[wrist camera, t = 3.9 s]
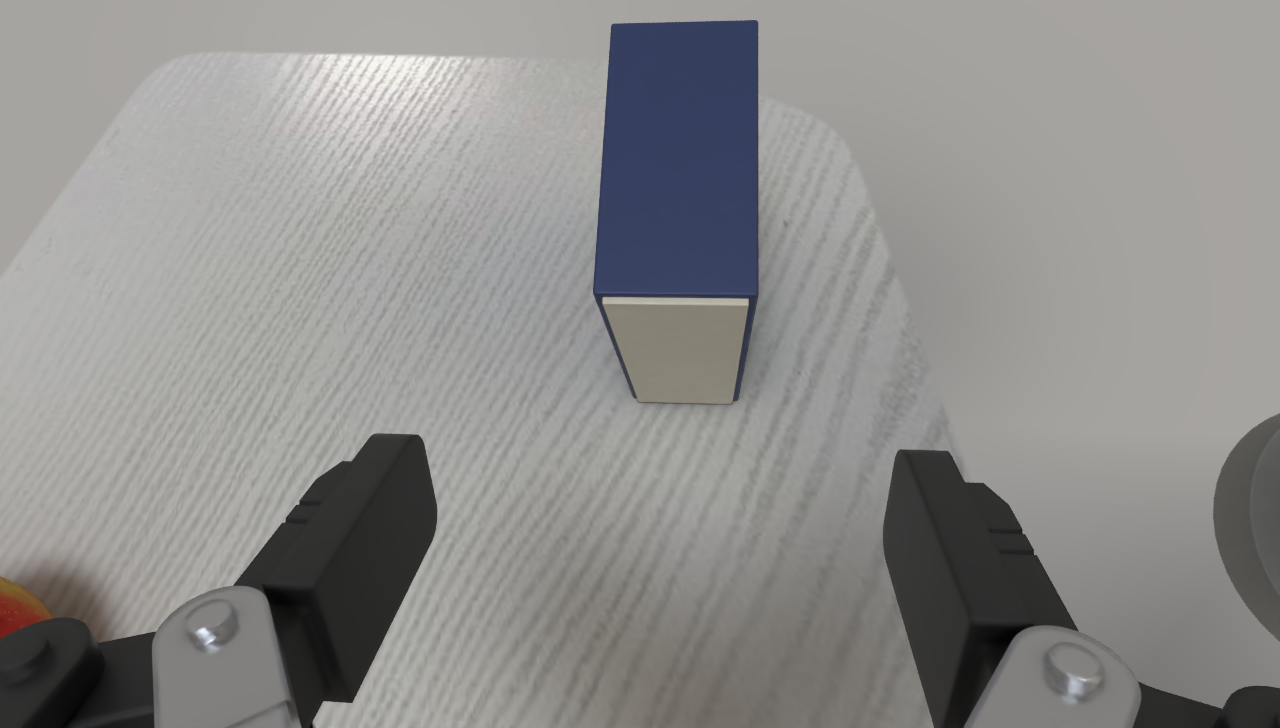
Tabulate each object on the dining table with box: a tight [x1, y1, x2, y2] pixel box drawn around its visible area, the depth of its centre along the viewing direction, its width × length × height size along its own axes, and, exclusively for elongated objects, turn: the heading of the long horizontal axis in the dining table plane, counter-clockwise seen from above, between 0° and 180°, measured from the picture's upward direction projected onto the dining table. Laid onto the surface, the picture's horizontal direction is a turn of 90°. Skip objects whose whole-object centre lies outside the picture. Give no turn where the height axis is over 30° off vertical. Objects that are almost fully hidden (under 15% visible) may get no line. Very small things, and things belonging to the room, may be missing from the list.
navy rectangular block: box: [593, 20, 758, 404], centre depth 27 cm, size 4×9×12 cm, turn 177°
